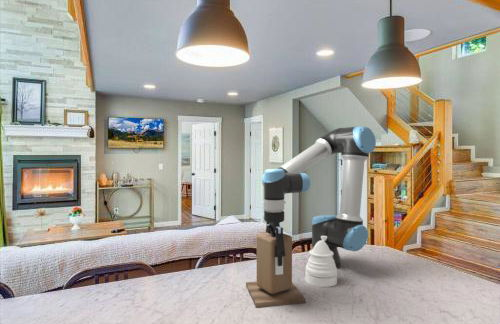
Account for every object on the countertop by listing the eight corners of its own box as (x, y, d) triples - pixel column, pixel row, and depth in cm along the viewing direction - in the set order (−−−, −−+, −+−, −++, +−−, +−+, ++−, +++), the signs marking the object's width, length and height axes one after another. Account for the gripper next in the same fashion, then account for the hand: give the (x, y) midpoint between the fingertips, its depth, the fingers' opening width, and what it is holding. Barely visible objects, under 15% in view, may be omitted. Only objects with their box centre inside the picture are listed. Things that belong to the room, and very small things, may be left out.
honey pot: (316, 272, 143) (316, 232, 142) (343, 280, 134) (343, 237, 133) (299, 280, 134) (299, 237, 133) (326, 289, 125) (326, 243, 124)
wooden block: (293, 289, 119) (293, 235, 119) (271, 295, 114) (271, 239, 113) (276, 280, 128) (276, 230, 127) (255, 286, 122) (255, 233, 122)
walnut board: (246, 286, 128) (246, 282, 128) (289, 282, 131) (289, 278, 131) (255, 307, 110) (255, 303, 110) (305, 302, 114) (305, 298, 114)
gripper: (294, 216, 109) (294, 279, 109) (275, 204, 132) (275, 257, 133) (273, 217, 107) (273, 281, 108) (257, 205, 131) (257, 258, 132)
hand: (274, 268), depth 121 cm, fingers closed on wooden block, 12 cm apart
